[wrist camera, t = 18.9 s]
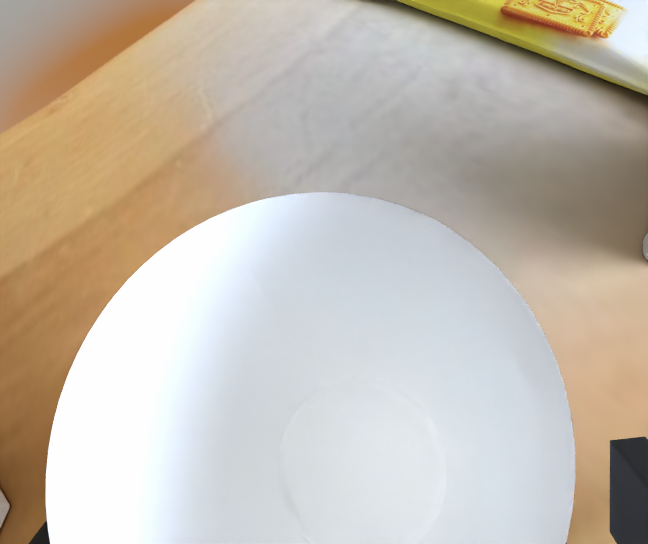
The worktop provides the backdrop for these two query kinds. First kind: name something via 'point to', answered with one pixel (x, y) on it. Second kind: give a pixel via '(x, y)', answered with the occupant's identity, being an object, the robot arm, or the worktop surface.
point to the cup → (314, 391)
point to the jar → (3, 508)
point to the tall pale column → (645, 246)
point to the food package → (563, 31)
